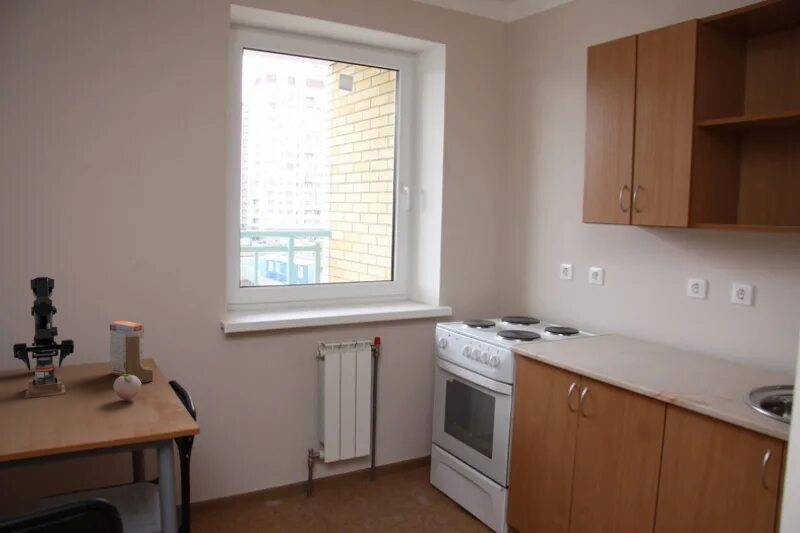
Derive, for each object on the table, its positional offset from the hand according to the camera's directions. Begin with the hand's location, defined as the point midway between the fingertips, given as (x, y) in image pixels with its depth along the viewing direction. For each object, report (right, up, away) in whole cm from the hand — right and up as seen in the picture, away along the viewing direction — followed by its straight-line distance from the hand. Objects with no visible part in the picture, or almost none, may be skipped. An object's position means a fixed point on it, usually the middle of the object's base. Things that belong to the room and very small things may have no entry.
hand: (44, 368), depth 216 cm
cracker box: (+18, -7, +25) cm, 32 cm away
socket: (-1, -8, +2) cm, 9 cm away
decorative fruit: (+32, -10, -6) cm, 34 cm away
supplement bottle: (-1, -8, +2) cm, 8 cm away
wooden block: (+26, -8, +17) cm, 32 cm away
